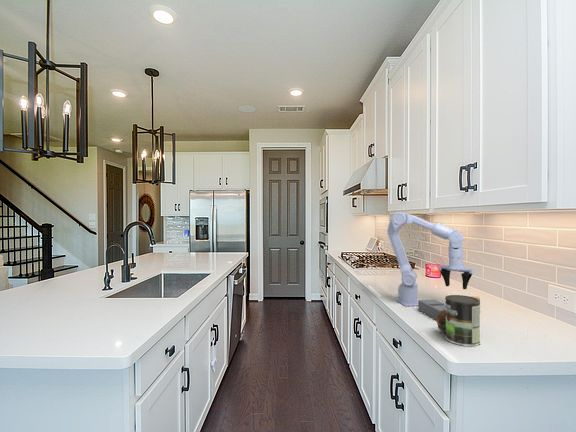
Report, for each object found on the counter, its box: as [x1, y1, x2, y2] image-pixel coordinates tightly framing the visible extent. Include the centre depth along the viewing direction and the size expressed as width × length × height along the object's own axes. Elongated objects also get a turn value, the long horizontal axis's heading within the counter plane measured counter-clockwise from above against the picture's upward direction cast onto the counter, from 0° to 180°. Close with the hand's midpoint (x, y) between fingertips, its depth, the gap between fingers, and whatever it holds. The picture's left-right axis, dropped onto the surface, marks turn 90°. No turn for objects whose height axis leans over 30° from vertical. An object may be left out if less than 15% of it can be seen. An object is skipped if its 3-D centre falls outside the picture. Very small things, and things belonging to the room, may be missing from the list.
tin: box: [436, 309, 446, 334], centre depth 115 cm, size 15×3×8 cm, turn 105°
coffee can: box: [444, 294, 481, 348], centre depth 107 cm, size 10×10×14 cm
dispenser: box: [417, 298, 446, 321], centre depth 133 cm, size 9×16×4 cm, turn 6°
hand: (456, 287), depth 143 cm, fingers open, 7 cm apart
